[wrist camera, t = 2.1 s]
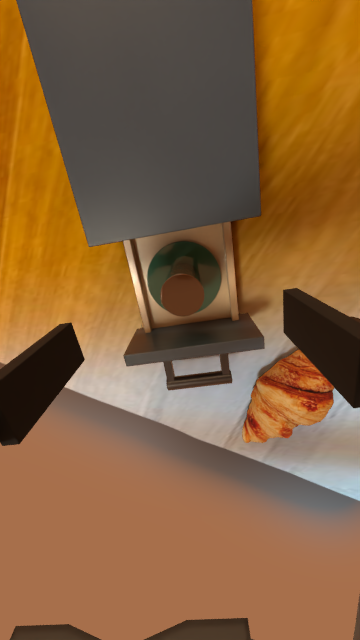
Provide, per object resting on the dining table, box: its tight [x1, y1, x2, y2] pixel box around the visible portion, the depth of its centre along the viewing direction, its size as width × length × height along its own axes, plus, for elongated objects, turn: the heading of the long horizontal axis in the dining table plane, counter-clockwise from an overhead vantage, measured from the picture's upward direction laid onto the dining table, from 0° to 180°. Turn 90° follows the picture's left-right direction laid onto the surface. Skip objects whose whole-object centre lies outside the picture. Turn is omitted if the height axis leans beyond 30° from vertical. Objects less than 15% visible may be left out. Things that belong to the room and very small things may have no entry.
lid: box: [147, 241, 221, 317], centre depth 25 cm, size 9×9×8 cm
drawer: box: [123, 221, 264, 390], centre depth 26 cm, size 24×15×7 cm, turn 10°
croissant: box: [242, 349, 334, 443], centre depth 33 cm, size 21×10×8 cm, turn 152°
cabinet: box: [16, 0, 261, 247], centre depth 21 cm, size 18×15×9 cm
